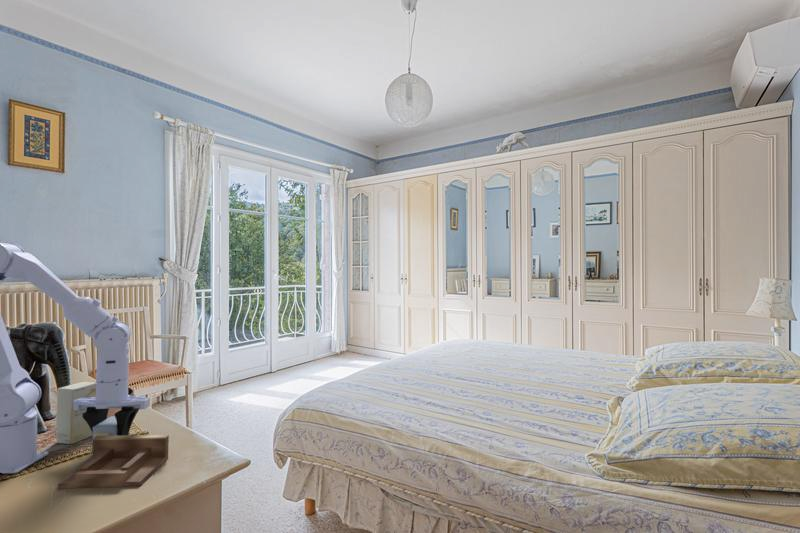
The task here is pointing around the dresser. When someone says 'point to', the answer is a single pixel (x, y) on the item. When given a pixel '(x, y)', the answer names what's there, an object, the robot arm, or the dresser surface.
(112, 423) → the cabinet block
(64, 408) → the skincare box
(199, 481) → the dresser surface
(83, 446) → the dresser surface
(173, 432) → the dresser surface
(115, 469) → the rack
